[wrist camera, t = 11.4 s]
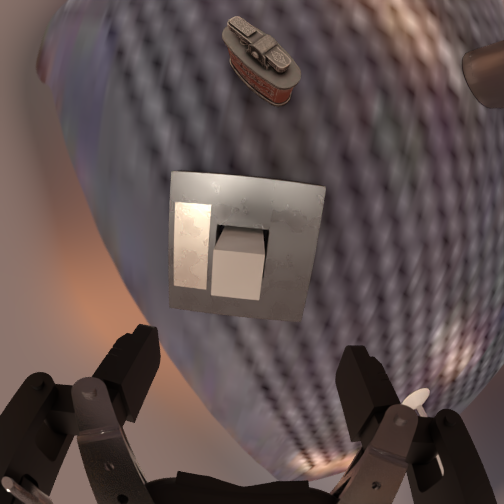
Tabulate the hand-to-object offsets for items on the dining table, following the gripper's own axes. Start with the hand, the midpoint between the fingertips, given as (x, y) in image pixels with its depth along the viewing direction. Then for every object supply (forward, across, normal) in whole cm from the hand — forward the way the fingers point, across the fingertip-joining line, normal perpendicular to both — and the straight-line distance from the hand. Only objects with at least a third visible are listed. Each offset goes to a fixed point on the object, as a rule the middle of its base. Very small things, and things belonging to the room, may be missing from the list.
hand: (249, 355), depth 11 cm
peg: (+20, +2, +1) cm, 20 cm away
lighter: (+20, +1, -17) cm, 27 cm away
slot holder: (+20, +2, +1) cm, 20 cm away
